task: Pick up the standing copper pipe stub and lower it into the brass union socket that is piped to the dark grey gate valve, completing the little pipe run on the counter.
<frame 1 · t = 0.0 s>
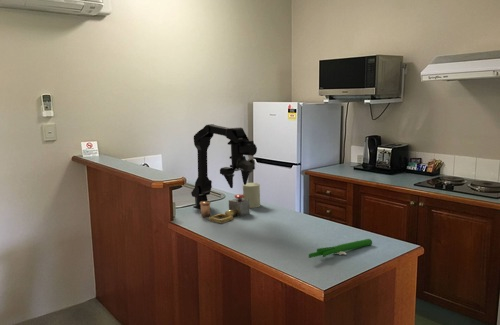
hand: (238, 186, 196), 15 cm above the table, fingers open, 9 cm apart
stub: (205, 215, 200), on the table
socket: (221, 219, 192), on the table
can: (251, 206, 217), on the table
valve: (240, 213, 202), on the table
green onion: (341, 254, 146), on the table
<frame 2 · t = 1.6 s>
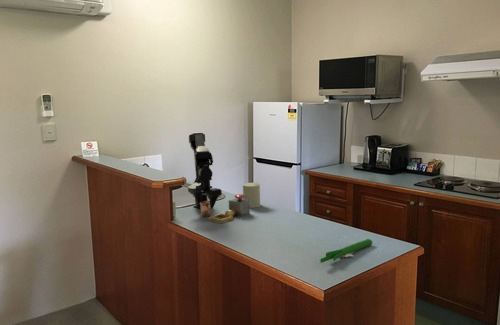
hand: (205, 207, 199), 4 cm above the table, fingers open, 9 cm apart
green onion: (347, 256, 144), on the table
everything else where it was.
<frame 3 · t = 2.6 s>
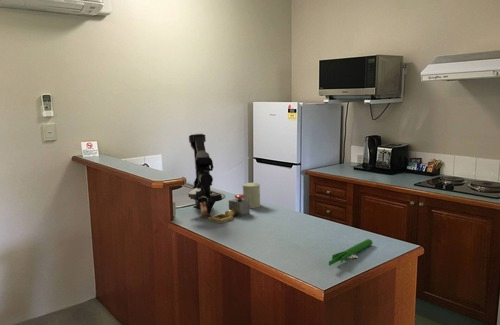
hand: (205, 212, 199), 2 cm above the table, fingers closed on stub, 4 cm apart
stub: (205, 215, 200), on the table, touching gripper
green onion: (351, 258, 143), on the table
everything else where it was.
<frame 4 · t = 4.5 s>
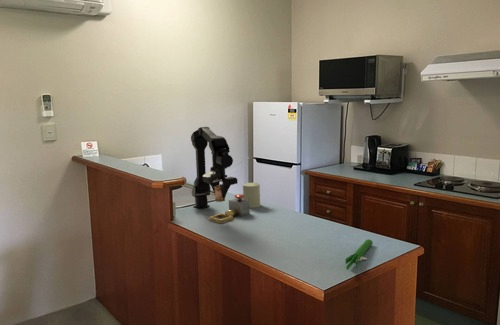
hand: (220, 197, 191), 11 cm above the table, fingers closed on stub, 4 cm apart
stub: (220, 200, 191), point 9 cm above the table, touching gripper
green onion: (359, 260, 141), on the table
everything else where it was.
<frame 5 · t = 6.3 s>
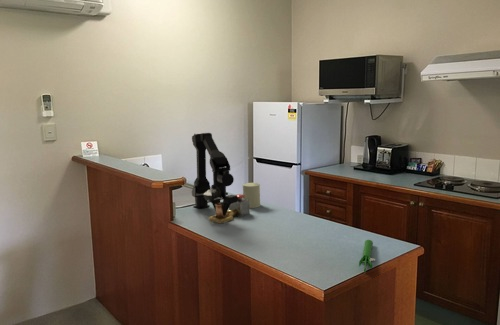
hand: (220, 214, 192), 2 cm above the table, fingers closed on stub, 4 cm apart
stub: (220, 217, 192), point 1 cm above the table, touching gripper
green onion: (367, 261, 139), on the table
everything else where it was.
when the fingers open (2 cm above the table, at t = 6.3 s): stub stays where it is, resting in socket.
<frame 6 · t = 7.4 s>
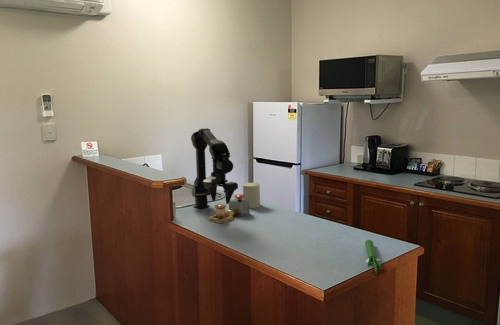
hand: (220, 202, 191), 9 cm above the table, fingers open, 9 cm apart
stub: (221, 219, 192), resting in socket
green onion: (373, 261, 139), on the table
everything else where it was.
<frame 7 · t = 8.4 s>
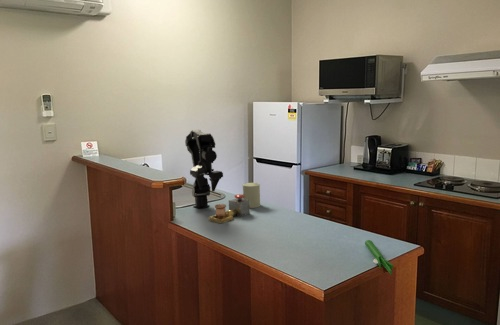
hand: (207, 190, 203), 12 cm above the table, fingers open, 9 cm apart
green onion: (379, 262, 138), on the table
everything else where it was.
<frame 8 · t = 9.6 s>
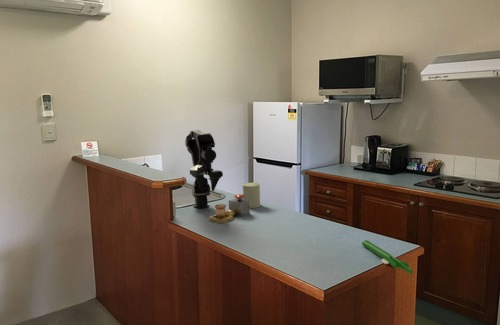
hand: (206, 189, 203), 12 cm above the table, fingers open, 9 cm apart
green onion: (386, 262, 138), on the table
everything else where it was.
at the end: stub 0.1 cm off-centre on the socket, point 0.0 cm above the socket's base; stub tilted 0°; the gripper is holding nothing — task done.
